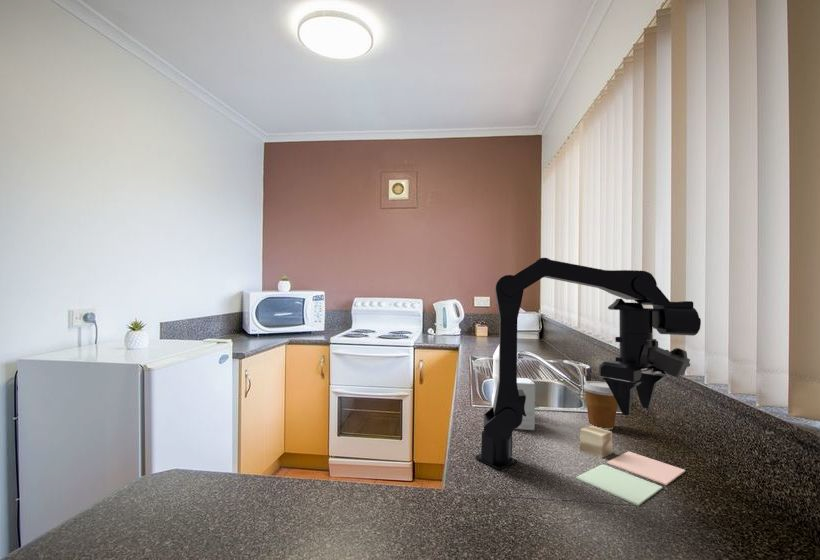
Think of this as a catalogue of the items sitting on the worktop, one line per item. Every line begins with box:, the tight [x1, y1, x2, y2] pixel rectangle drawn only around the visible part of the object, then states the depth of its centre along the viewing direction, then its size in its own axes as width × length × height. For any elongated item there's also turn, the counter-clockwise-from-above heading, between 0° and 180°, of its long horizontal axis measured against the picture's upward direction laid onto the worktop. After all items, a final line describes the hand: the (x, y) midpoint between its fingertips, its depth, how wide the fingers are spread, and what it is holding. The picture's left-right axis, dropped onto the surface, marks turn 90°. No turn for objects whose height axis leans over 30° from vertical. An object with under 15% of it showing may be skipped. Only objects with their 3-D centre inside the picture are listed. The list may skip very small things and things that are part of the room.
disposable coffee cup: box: [582, 380, 618, 428], centre depth 102 cm, size 10×10×12 cm
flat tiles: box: [575, 450, 686, 507], centre depth 72 cm, size 24×11×1 cm, turn 127°
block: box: [579, 425, 613, 459], centre depth 84 cm, size 5×5×5 cm
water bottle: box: [491, 345, 499, 408], centre depth 112 cm, size 7×7×25 cm
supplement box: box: [515, 377, 536, 431], centre depth 100 cm, size 7×7×13 cm
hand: (636, 411), depth 71 cm, fingers open, 9 cm apart
